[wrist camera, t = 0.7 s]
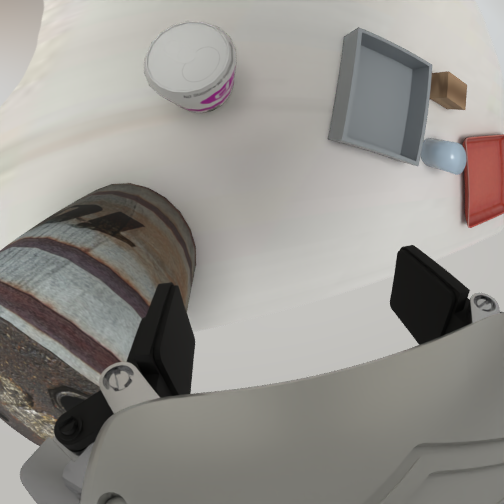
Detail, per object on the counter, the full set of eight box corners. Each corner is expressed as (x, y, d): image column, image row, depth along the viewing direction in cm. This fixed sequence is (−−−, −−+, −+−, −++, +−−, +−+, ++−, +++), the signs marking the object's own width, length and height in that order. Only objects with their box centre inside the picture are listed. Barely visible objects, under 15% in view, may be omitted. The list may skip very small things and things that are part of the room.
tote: (344, 37, 28) (358, 27, 24) (413, 68, 30) (432, 64, 26) (327, 139, 35) (341, 140, 31) (399, 161, 37) (418, 166, 33)
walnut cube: (430, 73, 31) (448, 71, 26) (448, 85, 31) (466, 84, 27) (428, 97, 33) (446, 97, 28) (446, 108, 33) (465, 109, 29)
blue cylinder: (423, 134, 35) (450, 138, 29) (441, 143, 36) (468, 149, 30) (417, 161, 37) (444, 169, 31) (436, 169, 38) (462, 178, 32)
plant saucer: (454, 135, 36) (466, 137, 33) (498, 132, 35) (509, 134, 32) (457, 223, 43) (468, 229, 40) (500, 206, 43) (509, 210, 40)
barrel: (107, 153, 33) (-69, 223, 6) (226, 243, 41) (232, 438, 13) (53, 262, 39) (-43, 380, 12) (151, 331, 46) (116, 483, 19)
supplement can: (245, 79, 31) (257, 45, 17) (206, 124, 33) (193, 118, 20) (198, 48, 28) (182, 2, 15) (160, 93, 31) (120, 72, 17)
